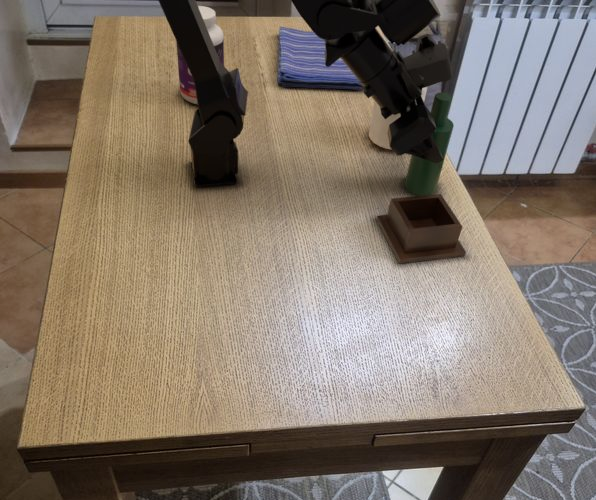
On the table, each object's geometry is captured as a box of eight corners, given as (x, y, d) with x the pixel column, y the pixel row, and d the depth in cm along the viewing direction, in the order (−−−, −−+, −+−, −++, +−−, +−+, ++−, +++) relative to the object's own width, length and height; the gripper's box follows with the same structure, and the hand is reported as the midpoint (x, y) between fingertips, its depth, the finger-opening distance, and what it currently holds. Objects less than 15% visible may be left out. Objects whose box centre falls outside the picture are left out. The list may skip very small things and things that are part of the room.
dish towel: (277, 88, 116) (277, 73, 114) (277, 35, 132) (277, 21, 130) (367, 93, 117) (369, 78, 115) (356, 40, 133) (358, 26, 131)
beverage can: (389, 157, 103) (403, 88, 94) (358, 135, 107) (369, 66, 98) (423, 144, 107) (440, 76, 98) (393, 123, 111) (406, 56, 102)
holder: (399, 263, 86) (405, 238, 82) (376, 219, 92) (381, 194, 88) (464, 256, 88) (473, 230, 84) (437, 213, 94) (444, 188, 90)
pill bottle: (187, 109, 109) (180, 24, 98) (175, 88, 114) (168, 4, 103) (230, 104, 111) (229, 20, 100) (217, 83, 116) (215, 1, 105)
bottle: (419, 199, 96) (443, 108, 85) (398, 183, 98) (418, 93, 87) (442, 190, 98) (468, 99, 87) (420, 174, 100) (443, 85, 89)
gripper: (436, 57, 73) (497, 146, 82) (417, -3, 86) (471, 80, 95) (361, 114, 79) (426, 192, 88) (353, 50, 91) (410, 124, 100)
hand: (435, 144), depth 93 cm, fingers open, 9 cm apart
